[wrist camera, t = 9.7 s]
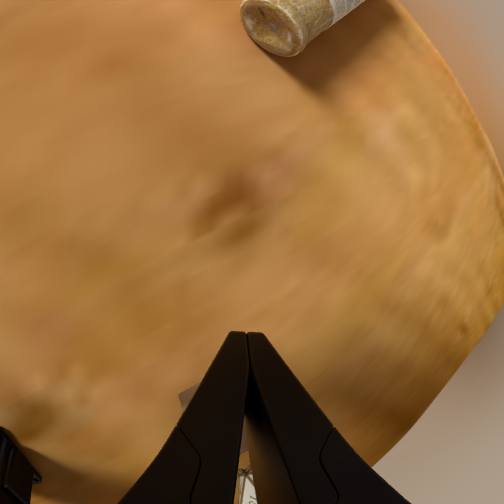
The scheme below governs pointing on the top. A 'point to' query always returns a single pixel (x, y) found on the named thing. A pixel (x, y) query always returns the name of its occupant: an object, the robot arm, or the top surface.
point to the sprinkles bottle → (291, 21)
